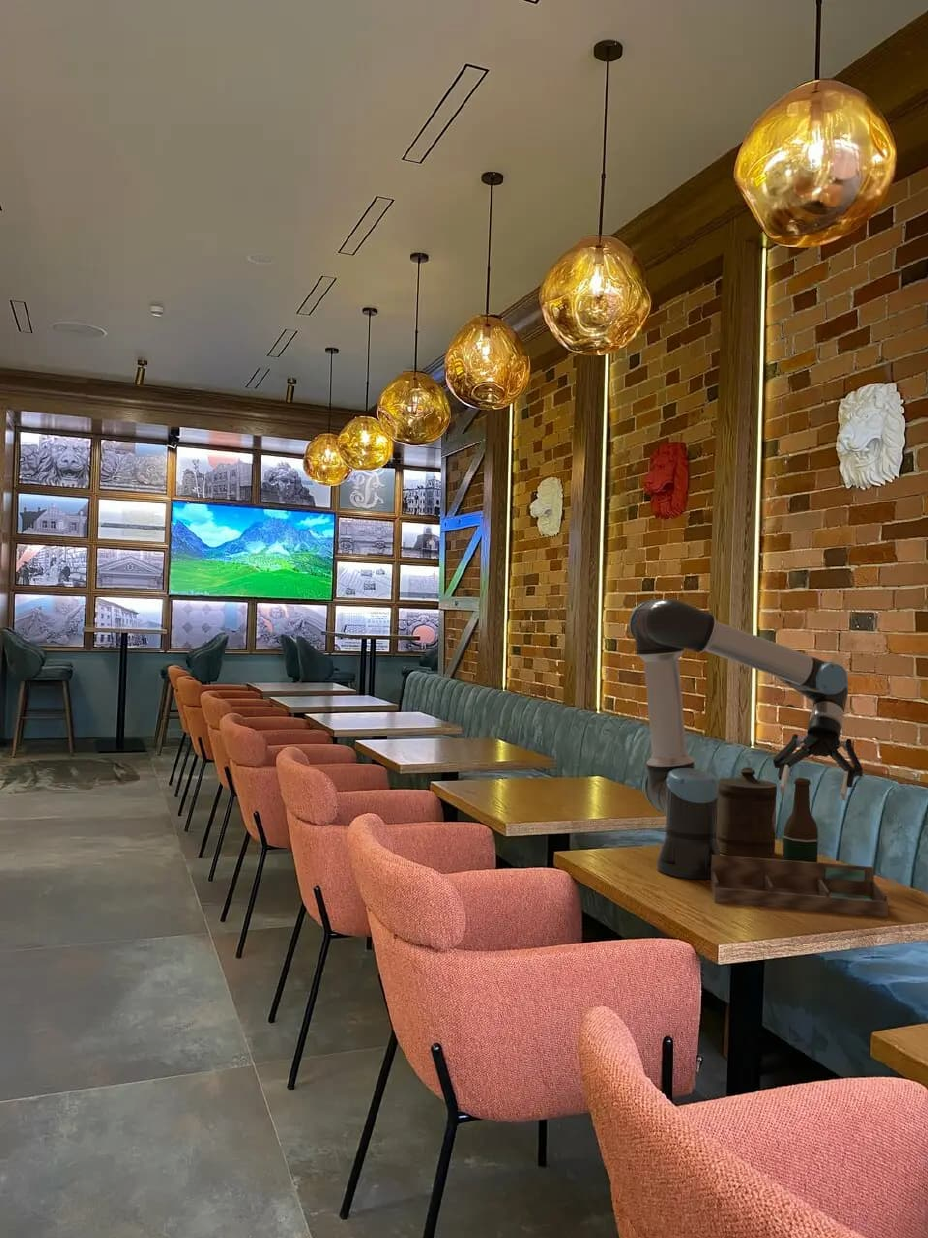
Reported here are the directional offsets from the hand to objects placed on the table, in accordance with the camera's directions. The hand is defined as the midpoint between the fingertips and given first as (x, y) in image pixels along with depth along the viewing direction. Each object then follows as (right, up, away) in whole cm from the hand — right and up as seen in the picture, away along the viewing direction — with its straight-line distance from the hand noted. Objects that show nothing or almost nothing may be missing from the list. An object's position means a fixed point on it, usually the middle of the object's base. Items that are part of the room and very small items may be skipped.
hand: (812, 793), depth 220 cm
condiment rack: (-11, -19, -21) cm, 30 cm away
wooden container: (-9, -20, +23) cm, 31 cm away
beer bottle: (-6, -20, -8) cm, 22 cm away
